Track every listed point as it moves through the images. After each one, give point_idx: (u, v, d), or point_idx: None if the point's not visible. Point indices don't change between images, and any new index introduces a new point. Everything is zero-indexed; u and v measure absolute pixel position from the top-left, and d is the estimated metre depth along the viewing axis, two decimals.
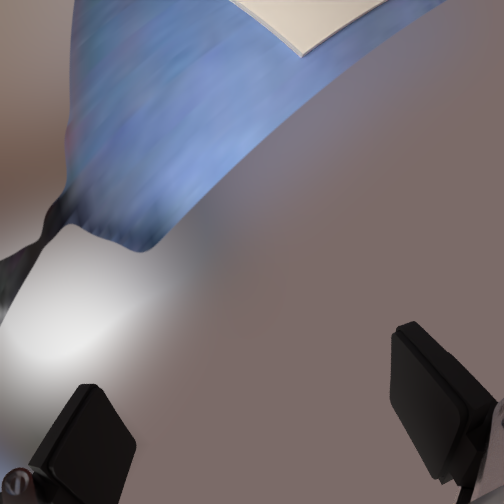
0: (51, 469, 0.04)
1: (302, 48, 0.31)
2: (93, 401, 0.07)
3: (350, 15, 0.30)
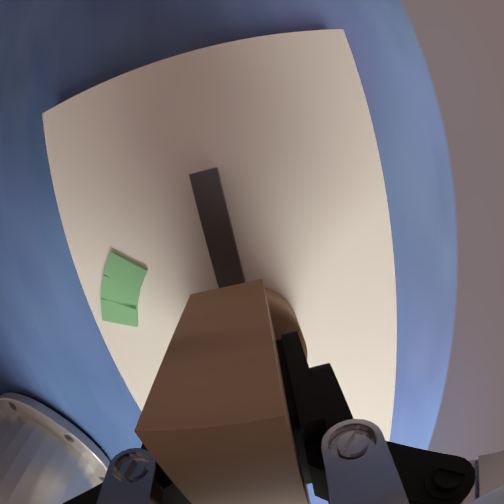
0: None
1: None
2: None
3: (383, 319, 0.13)
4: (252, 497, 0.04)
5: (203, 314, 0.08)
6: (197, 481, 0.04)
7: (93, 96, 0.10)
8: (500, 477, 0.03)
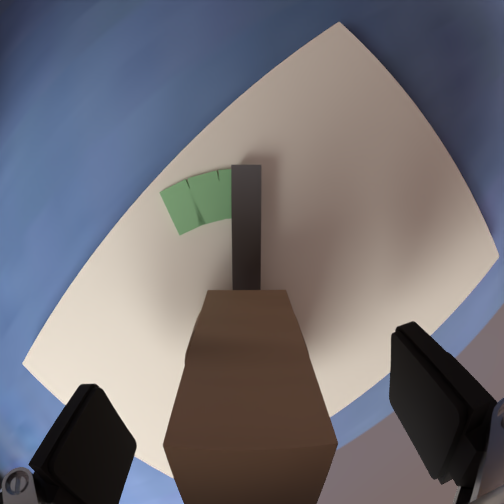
0: (52, 469, 0.04)
1: None
2: (94, 401, 0.07)
3: None
4: None
5: (227, 316, 0.07)
6: (210, 498, 0.04)
7: (381, 76, 0.10)
8: None
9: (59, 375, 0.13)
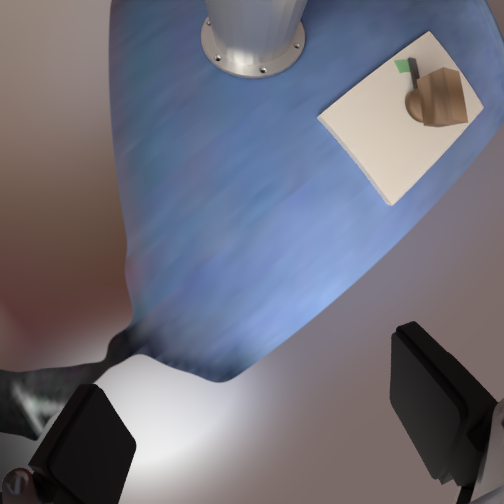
0: (51, 469, 0.04)
1: (392, 198, 0.33)
2: (93, 401, 0.07)
3: (438, 150, 0.32)
4: (456, 90, 0.22)
5: None
6: (449, 81, 0.22)
7: (440, 47, 0.28)
8: None
9: (344, 119, 0.31)
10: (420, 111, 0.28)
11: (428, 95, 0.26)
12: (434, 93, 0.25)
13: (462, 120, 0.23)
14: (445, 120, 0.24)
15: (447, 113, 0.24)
